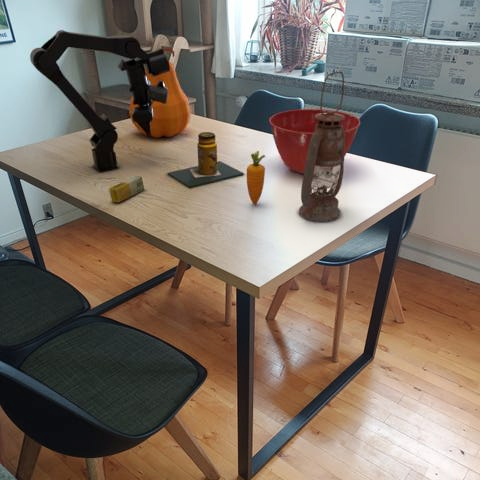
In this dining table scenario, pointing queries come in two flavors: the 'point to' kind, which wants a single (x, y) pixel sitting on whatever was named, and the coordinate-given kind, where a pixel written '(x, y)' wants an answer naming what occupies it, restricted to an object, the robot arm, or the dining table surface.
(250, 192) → the carrot
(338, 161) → the lantern
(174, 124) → the decorative pumpkin
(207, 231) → the dining table surface
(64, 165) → the dining table surface
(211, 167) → the condiment
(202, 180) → the placemat
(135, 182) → the medication box
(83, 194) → the dining table surface
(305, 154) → the mixing bowl
